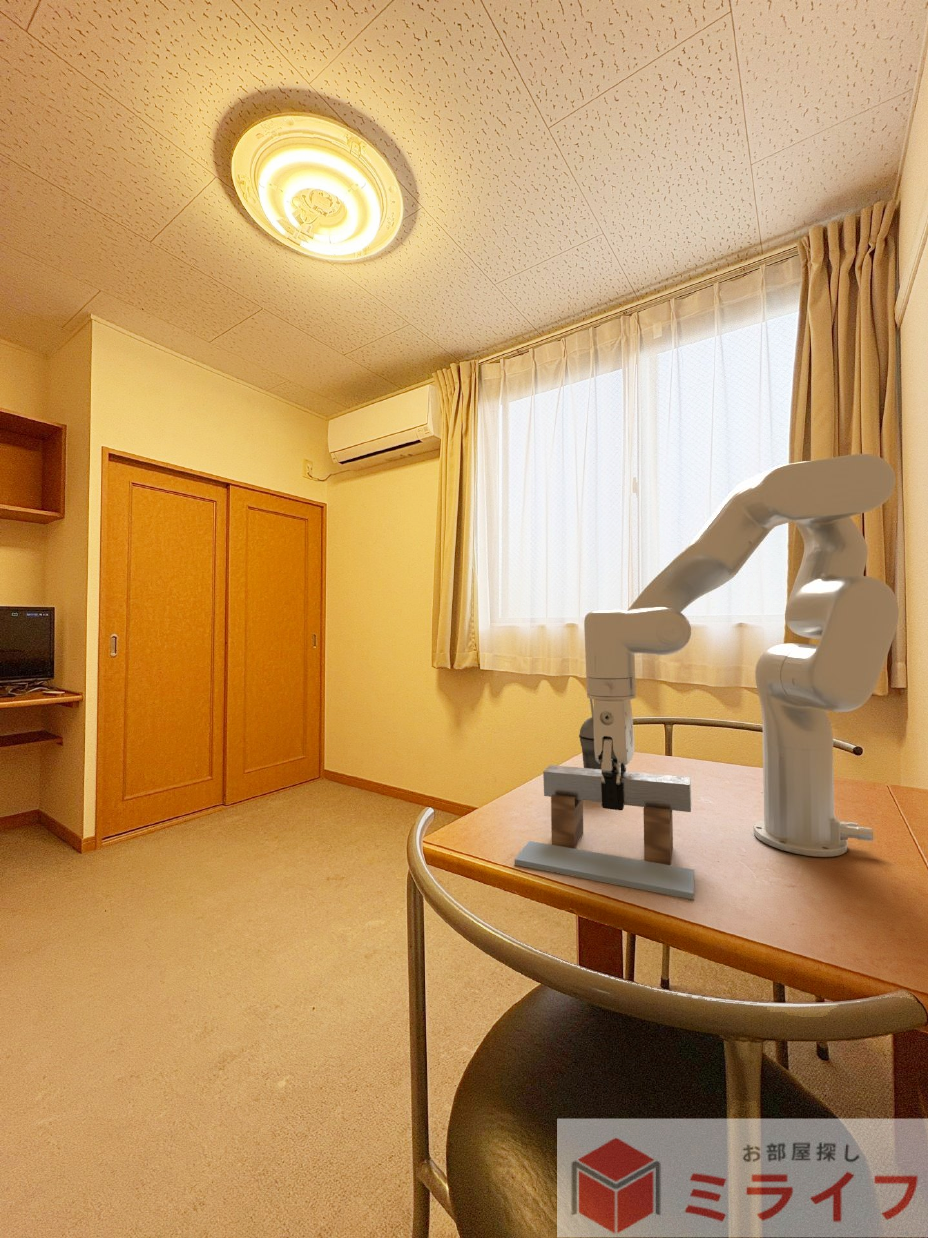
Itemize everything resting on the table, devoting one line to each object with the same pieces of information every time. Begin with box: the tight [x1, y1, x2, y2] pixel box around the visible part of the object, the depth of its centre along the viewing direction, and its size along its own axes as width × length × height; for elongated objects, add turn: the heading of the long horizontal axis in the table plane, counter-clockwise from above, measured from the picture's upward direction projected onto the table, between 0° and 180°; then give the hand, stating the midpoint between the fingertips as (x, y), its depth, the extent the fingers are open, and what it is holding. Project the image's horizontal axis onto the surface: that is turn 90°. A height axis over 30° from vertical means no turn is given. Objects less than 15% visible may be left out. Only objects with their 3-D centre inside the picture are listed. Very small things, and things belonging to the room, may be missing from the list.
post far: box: [550, 794, 584, 849], centre depth 84 cm, size 4×7×8 cm, turn 155°
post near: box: [643, 806, 674, 866], centre depth 79 cm, size 4×7×8 cm, turn 155°
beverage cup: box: [578, 698, 601, 769], centre depth 108 cm, size 7×7×20 cm
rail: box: [542, 764, 692, 813], centre depth 82 cm, size 22×4×4 cm, turn 65°
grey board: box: [514, 840, 695, 901], centre depth 74 cm, size 24×7×1 cm, turn 65°
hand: (615, 802), depth 82 cm, fingers closed on rail, 4 cm apart
